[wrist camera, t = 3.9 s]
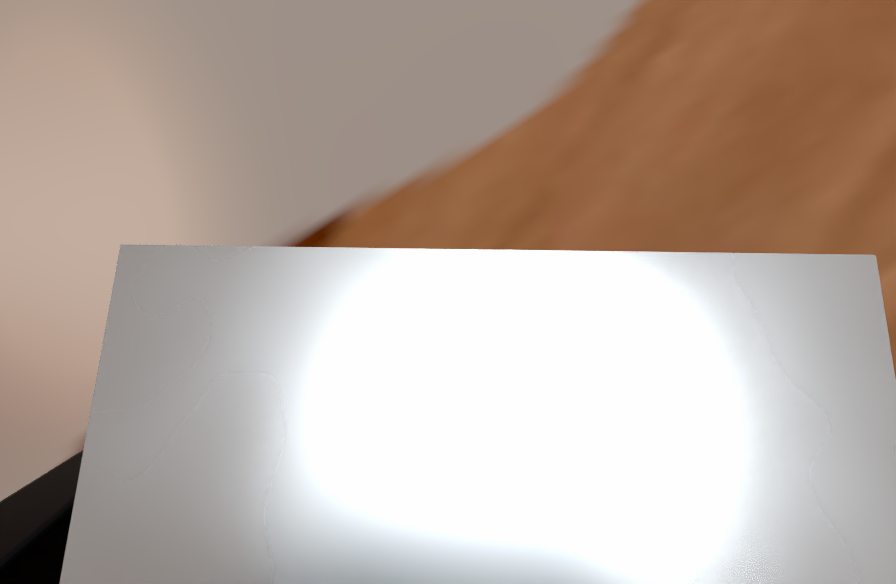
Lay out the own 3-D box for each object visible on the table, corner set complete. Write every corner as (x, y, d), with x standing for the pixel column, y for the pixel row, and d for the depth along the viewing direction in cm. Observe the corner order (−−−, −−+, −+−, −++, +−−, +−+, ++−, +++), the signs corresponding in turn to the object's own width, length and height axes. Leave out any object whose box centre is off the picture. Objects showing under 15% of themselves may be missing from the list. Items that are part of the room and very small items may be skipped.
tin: (627, 699, 13) (1049, 1356, 3) (329, 683, 13) (-60, 1240, 4) (615, 395, 15) (876, 254, 5) (350, 388, 15) (121, 244, 5)
